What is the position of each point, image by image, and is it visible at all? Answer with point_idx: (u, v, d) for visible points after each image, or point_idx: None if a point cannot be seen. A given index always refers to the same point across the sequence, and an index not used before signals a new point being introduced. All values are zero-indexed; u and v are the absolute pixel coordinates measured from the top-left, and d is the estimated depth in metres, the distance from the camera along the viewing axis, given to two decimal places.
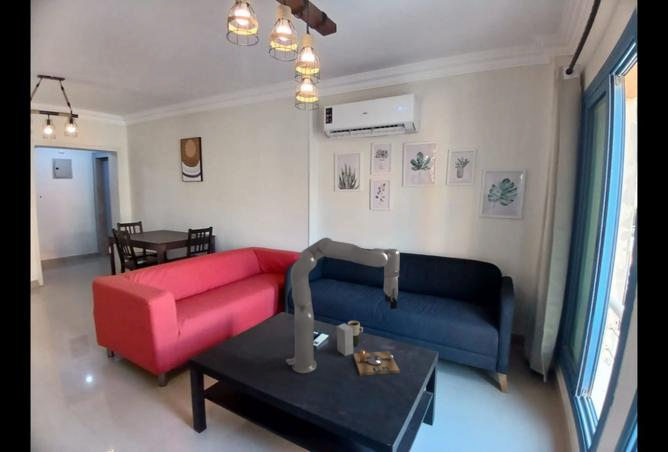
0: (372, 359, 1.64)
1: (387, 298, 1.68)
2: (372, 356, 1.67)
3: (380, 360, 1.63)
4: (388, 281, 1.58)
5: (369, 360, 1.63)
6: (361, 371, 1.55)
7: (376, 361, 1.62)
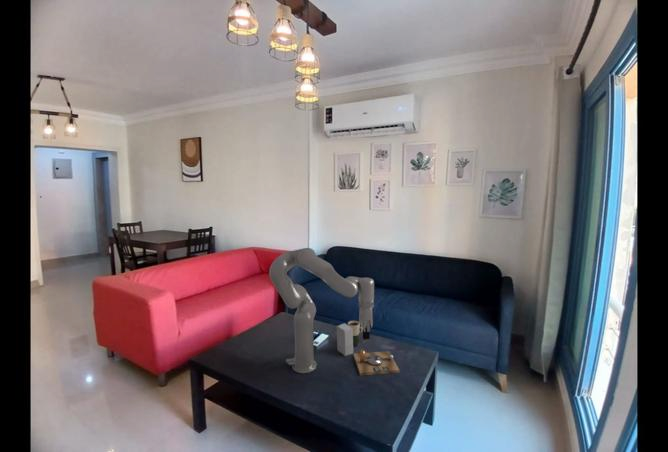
0: (372, 359, 1.64)
1: None
2: (372, 356, 1.67)
3: (380, 360, 1.63)
4: (362, 312, 1.51)
5: (369, 360, 1.63)
6: (361, 371, 1.55)
7: (376, 361, 1.62)
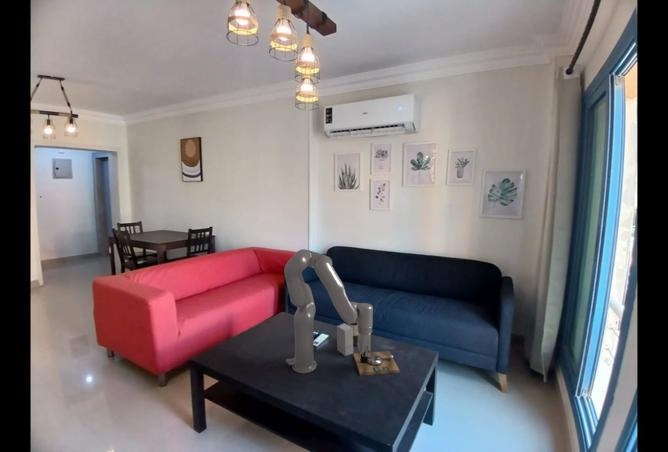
0: (372, 359, 1.64)
1: None
2: (372, 356, 1.67)
3: (380, 360, 1.63)
4: (360, 337, 1.54)
5: (369, 360, 1.63)
6: (361, 371, 1.55)
7: (376, 361, 1.62)
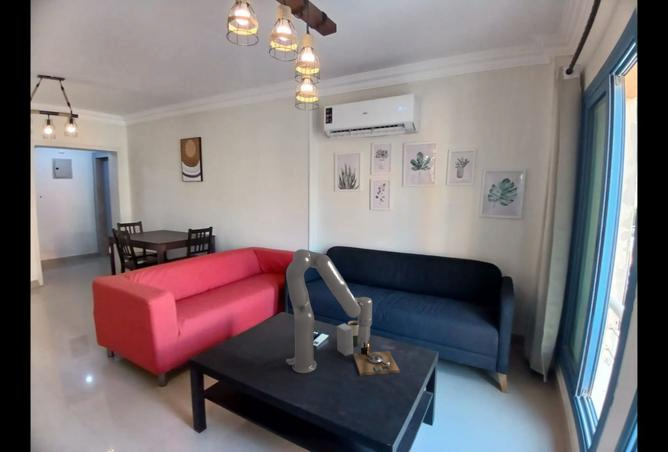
0: (373, 356, 1.66)
1: None
2: (378, 355, 1.67)
3: (376, 361, 1.62)
4: None
5: (370, 355, 1.67)
6: (361, 371, 1.55)
7: (372, 359, 1.64)
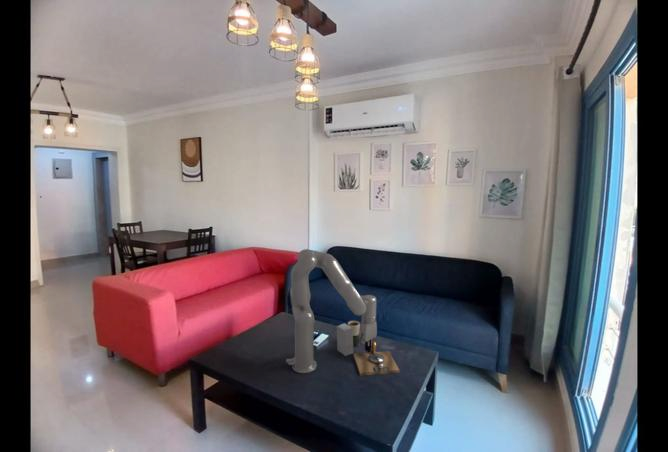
0: (375, 356, 1.67)
1: None
2: (381, 356, 1.67)
3: (374, 360, 1.63)
4: None
5: (373, 354, 1.69)
6: (361, 371, 1.55)
7: (372, 358, 1.65)
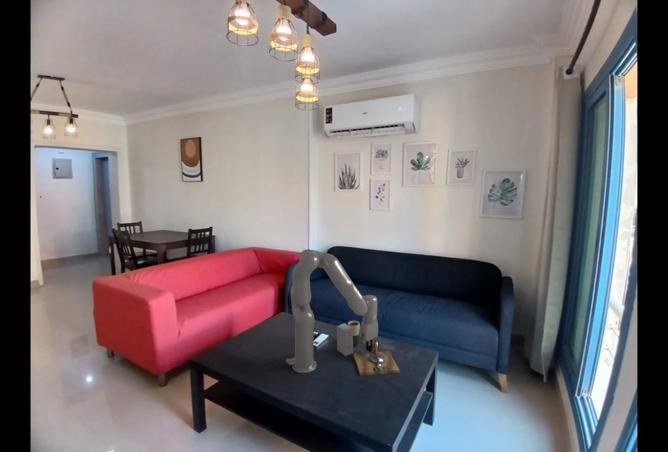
0: (376, 356, 1.67)
1: None
2: (381, 356, 1.66)
3: (374, 360, 1.63)
4: None
5: (374, 354, 1.69)
6: (361, 371, 1.55)
7: (372, 357, 1.65)
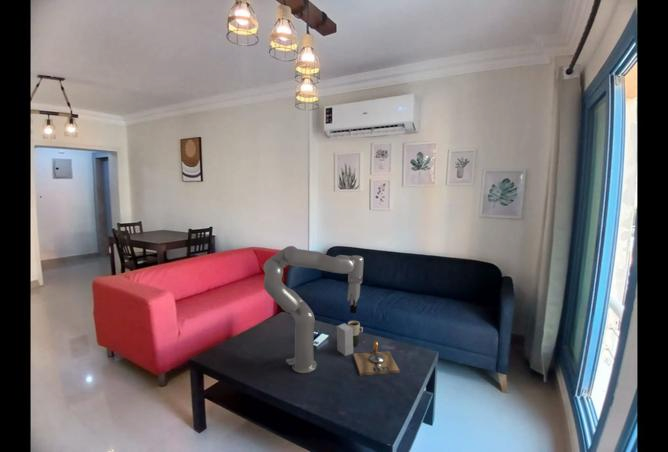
0: (376, 356, 1.67)
1: None
2: (381, 356, 1.66)
3: (374, 360, 1.63)
4: None
5: (374, 354, 1.69)
6: (361, 371, 1.55)
7: (372, 357, 1.65)
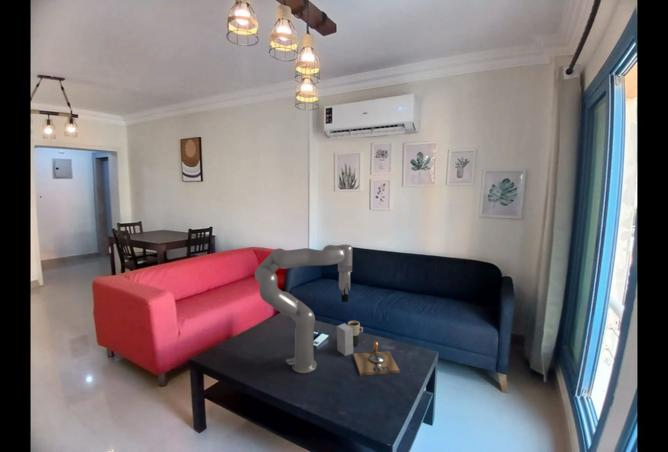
0: (376, 356, 1.67)
1: None
2: (381, 356, 1.66)
3: (374, 360, 1.63)
4: (341, 276, 1.63)
5: (374, 354, 1.69)
6: (361, 371, 1.55)
7: (372, 357, 1.65)
